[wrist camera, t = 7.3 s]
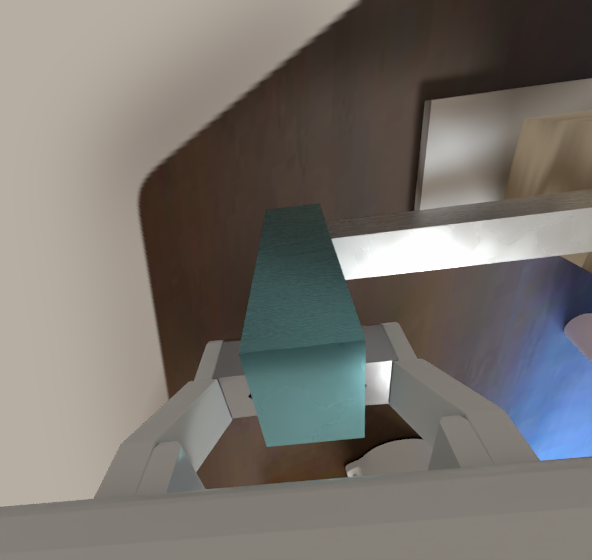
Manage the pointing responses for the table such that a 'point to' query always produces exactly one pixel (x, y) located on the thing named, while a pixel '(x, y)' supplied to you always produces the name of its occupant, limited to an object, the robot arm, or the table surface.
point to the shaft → (339, 306)
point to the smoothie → (581, 333)
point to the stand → (507, 147)
